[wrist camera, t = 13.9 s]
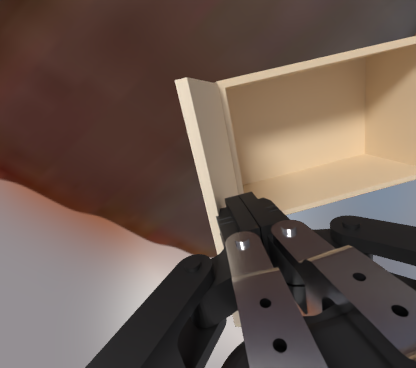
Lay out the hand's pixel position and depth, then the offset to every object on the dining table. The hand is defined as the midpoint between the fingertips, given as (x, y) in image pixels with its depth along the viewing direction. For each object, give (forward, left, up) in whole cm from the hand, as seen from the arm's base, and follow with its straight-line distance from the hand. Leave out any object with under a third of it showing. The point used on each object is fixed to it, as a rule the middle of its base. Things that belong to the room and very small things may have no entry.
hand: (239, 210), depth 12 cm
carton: (-13, 0, -19) cm, 23 cm away
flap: (0, 0, -4) cm, 4 cm away
